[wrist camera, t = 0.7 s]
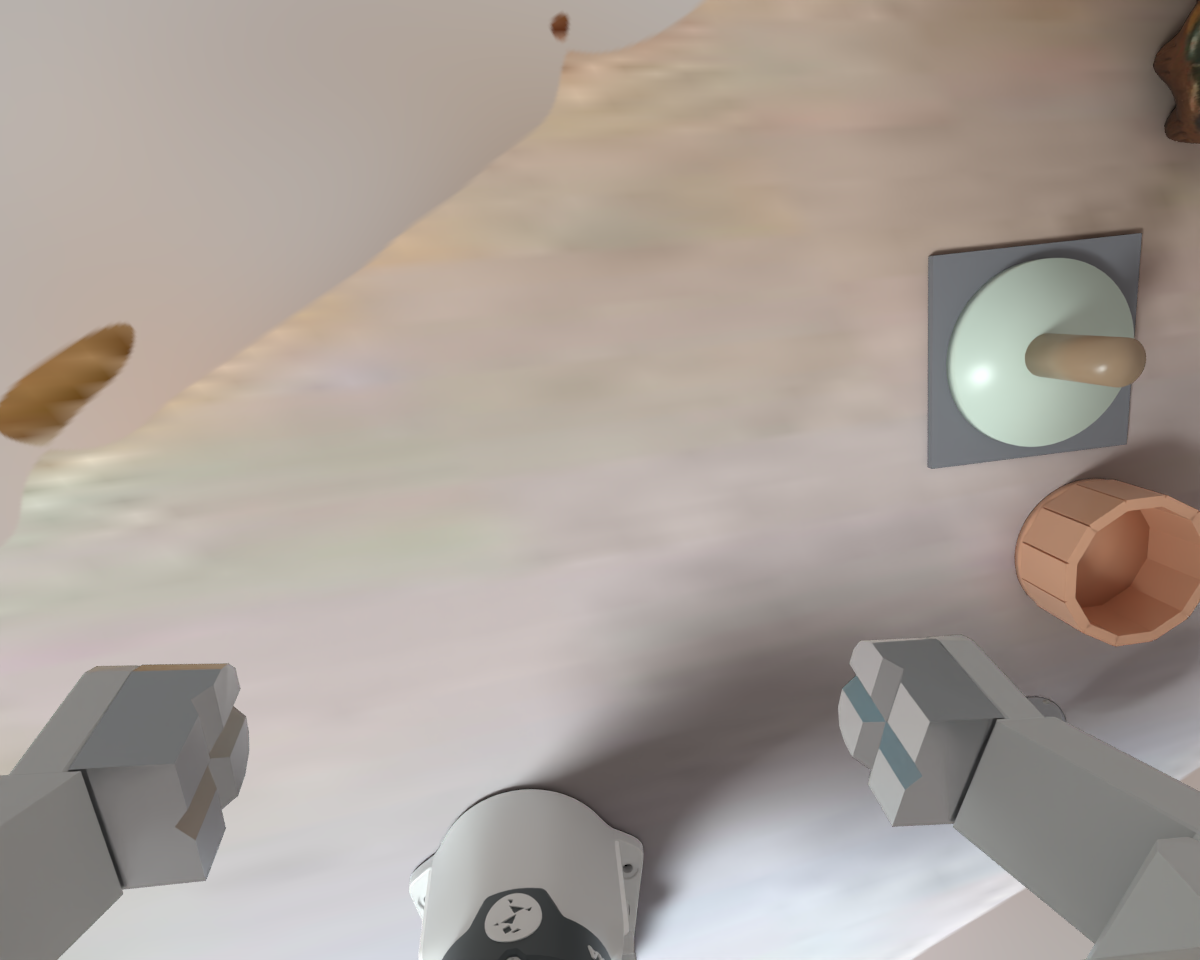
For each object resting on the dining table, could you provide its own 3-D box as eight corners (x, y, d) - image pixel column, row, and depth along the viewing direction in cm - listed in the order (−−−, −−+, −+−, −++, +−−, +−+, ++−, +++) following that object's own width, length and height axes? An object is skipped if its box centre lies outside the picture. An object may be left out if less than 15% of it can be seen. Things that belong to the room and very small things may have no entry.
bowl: (1144, 603, 57) (1206, 633, 52) (1012, 621, 57) (1061, 654, 52) (1155, 470, 55) (1221, 487, 49) (1017, 487, 54) (1069, 507, 49)
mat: (1120, 442, 54) (1126, 444, 53) (927, 467, 53) (931, 468, 53) (1134, 233, 50) (1141, 233, 50) (928, 256, 50) (933, 255, 49)
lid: (1114, 432, 53) (1212, 454, 45) (945, 453, 52) (1015, 479, 45) (1126, 249, 50) (1234, 239, 42) (947, 269, 49) (1023, 262, 42)
